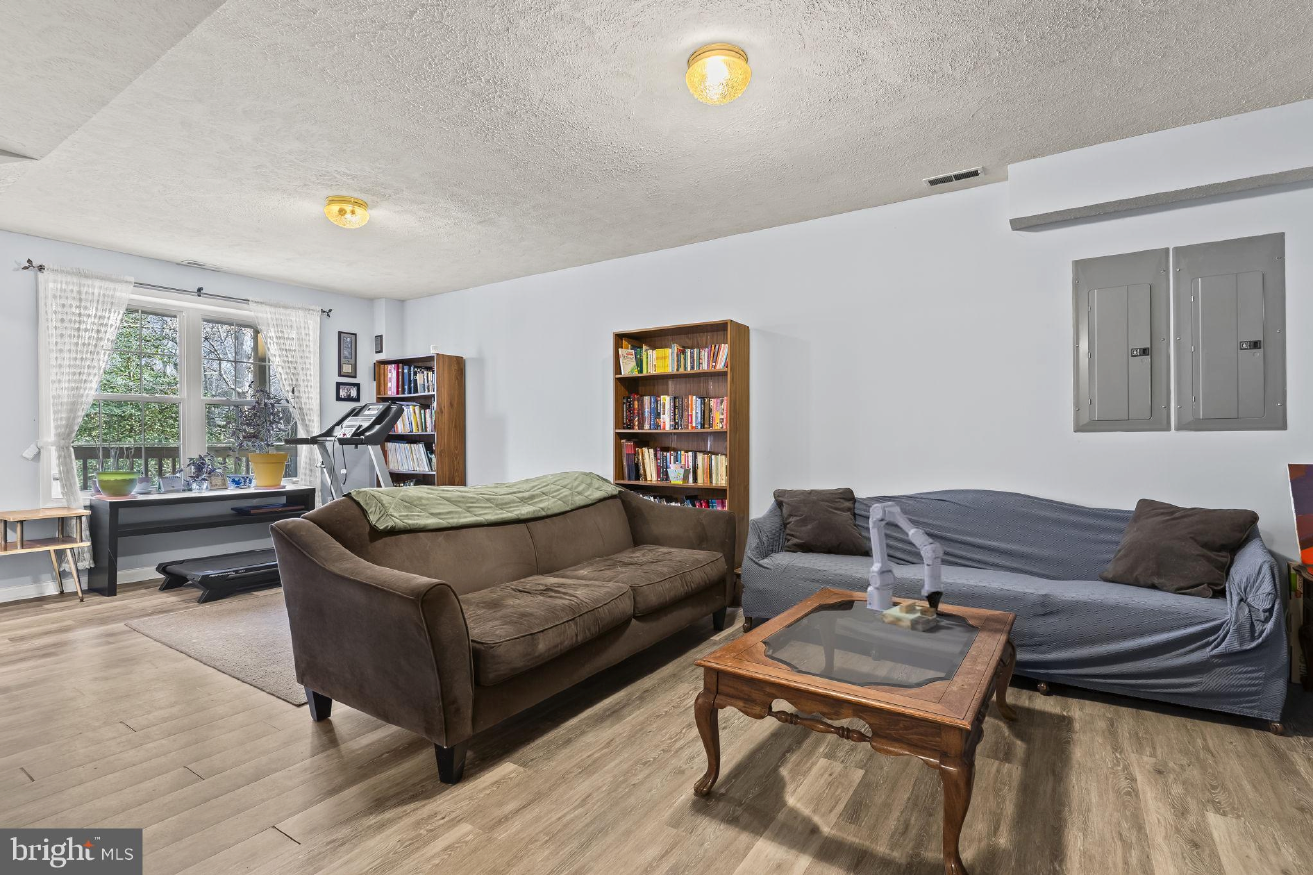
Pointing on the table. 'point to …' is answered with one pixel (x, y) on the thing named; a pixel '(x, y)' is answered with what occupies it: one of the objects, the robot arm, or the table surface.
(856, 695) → the table surface
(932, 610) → the bolt
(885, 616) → the wooden tray
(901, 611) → the lid
